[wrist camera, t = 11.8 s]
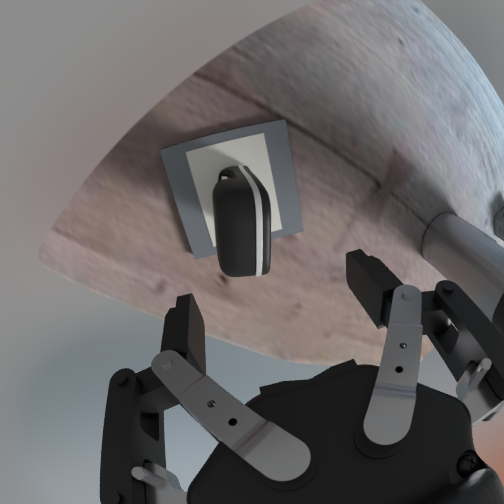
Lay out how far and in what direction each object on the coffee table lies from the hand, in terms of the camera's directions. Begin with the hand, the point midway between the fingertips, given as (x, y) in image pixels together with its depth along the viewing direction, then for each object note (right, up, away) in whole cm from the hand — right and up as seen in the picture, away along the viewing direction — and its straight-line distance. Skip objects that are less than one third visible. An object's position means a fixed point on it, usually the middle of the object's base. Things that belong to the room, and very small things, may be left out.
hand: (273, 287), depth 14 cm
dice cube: (+52, +9, +26) cm, 58 cm away
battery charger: (-3, +8, +15) cm, 17 cm away
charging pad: (-3, +9, +16) cm, 18 cm away
